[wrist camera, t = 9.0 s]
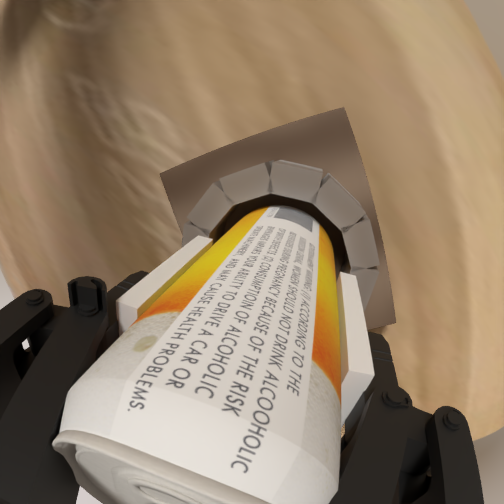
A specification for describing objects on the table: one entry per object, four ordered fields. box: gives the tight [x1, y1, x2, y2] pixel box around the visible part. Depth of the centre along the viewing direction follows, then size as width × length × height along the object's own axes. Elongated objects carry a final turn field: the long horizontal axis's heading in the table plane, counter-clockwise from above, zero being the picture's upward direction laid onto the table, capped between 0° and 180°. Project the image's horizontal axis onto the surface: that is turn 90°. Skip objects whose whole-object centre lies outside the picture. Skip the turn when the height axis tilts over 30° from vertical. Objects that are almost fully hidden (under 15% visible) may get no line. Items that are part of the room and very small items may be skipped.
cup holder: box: [160, 107, 396, 330], centre depth 18 cm, size 14×12×6 cm
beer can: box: [52, 205, 341, 504], centre depth 11 cm, size 6×6×15 cm
